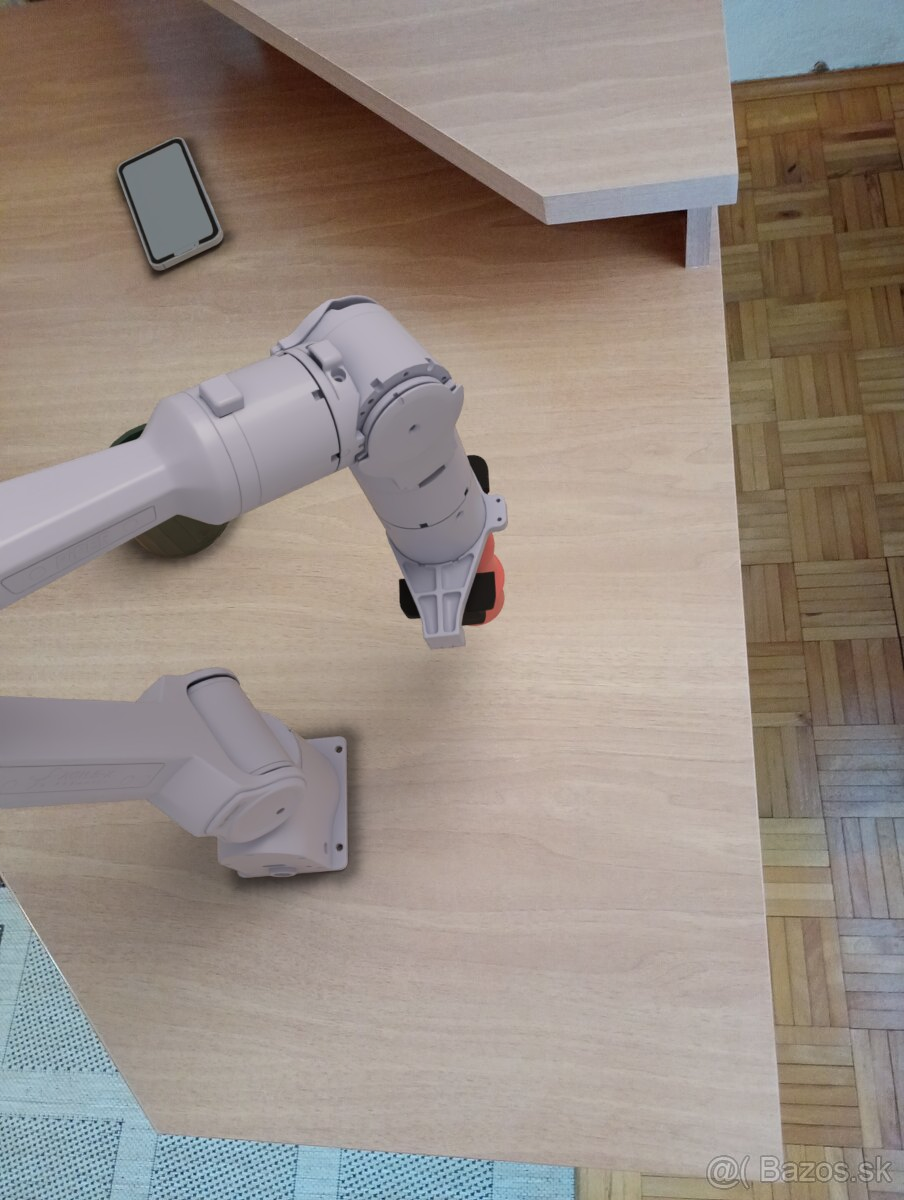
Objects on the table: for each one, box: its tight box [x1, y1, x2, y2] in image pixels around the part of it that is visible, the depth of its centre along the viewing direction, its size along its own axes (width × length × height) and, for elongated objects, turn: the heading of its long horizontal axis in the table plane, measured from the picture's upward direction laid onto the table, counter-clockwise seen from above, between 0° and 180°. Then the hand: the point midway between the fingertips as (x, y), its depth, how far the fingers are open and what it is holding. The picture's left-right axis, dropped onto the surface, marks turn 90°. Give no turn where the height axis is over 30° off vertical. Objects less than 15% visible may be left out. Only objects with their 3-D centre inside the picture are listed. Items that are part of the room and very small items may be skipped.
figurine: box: [467, 532, 506, 627], centre depth 65 cm, size 5×5×15 cm
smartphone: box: [116, 136, 224, 271], centre depth 102 cm, size 7×1×15 cm
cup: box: [108, 422, 230, 559], centre depth 86 cm, size 9×9×6 cm
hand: (466, 581), depth 69 cm, fingers closed on figurine, 5 cm apart
